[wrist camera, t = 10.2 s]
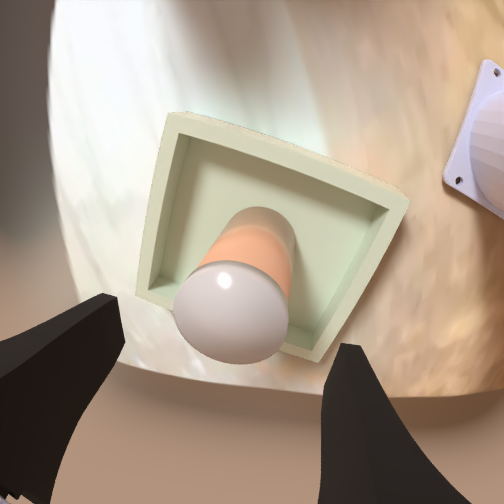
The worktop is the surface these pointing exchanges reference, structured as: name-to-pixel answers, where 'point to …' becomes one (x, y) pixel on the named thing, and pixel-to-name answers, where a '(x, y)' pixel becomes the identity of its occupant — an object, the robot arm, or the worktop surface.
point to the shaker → (240, 290)
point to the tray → (274, 197)
